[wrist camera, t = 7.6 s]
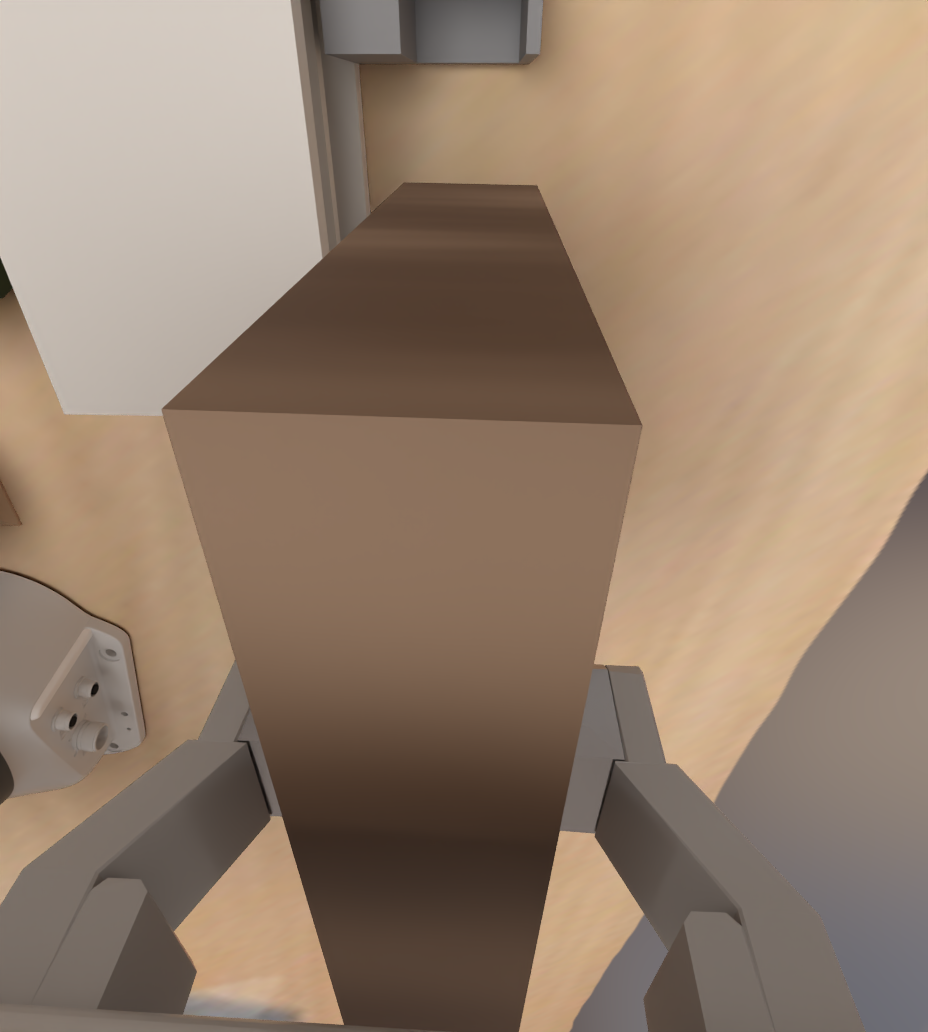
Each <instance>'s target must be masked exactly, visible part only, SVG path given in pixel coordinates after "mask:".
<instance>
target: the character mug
mask: <svg viewBox="0 0 928 1032" xmlns="http://www.w3.org/2000/svg"><path fill="white" fill-rule="evenodd" d="M12 288H13V287H12V285H11V282H10V280H9V277H8V275H7V272H6V270H5V268H4V265H3V263H2V260H1V258H0V298H3V297H5V296H6V294H7V293H8V292H9V291H10V290H11V289H12Z"/></svg>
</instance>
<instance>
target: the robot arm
mask: <svg viewBox="0 0 928 1032" xmlns="http://www.w3.org/2000/svg"><path fill="white" fill-rule="evenodd" d="M145 734H146V733H145V727H144V721H143V715H142V709H141V703H140V697H139V691H138V686H137V680H136V674H135V668H134V662H133V656H132V651H131V645H130V639H129V637H128V635H127V634H126V633H125V632H124V631H123V630H121V629H120V628H118V627H116V626H114V625H112V624H109V623H107V622H105V621H102V620H100V619H97V618H95V617H92V616H90V615H88V614H87V613H85V612H84V611H82V610H81V609H79V608H78V607H77V606H75V605H74V604H72V603H71V602H70V601H68V600H67V599H65V598H64V597H62V596H61V595H59V594H58V593H56V592H54V591H52V590H51V589H49V588H47V587H45V586H43V585H41V584H39V583H36V582H34V581H32V580H29V579H26V578H24V577H21V576H18V575H14V574H11V573H7V572H3V571H0V804H2V803H3V802H4V801H5V800H6V799H9V798H14V797H19V796H24V795H30V794H35V793H41V792H47V791H53V790H58V789H63V788H66V787H69V786H72V785H74V784H76V783H78V782H79V781H81V780H83V779H84V778H85V777H86V776H87V775H88V774H89V773H90V772H91V771H92V770H93V769H94V767H95V766H96V765H97V763H98V762H99V760H100V759H101V757H102V756H103V755H105V754H114V753H119V752H124V751H127V750H130V749H133V748H135V747H137V746H139V745H140V744H141V743H142V741H143V740H144V738H145ZM270 816H282V814H281V811H280V807H279V804H278V800H277V797H276V794H275V790H274V787H273V784H272V780H271V777H270V774H269V770H268V767H267V763H266V760H265V757H264V753H263V750H262V747H261V743H260V740H259V737H258V733H257V730H256V726H255V723H254V720H253V716H252V713H251V710H250V706H249V703H248V700H247V696H246V693H245V689H244V686H243V683H242V679H241V676H240V673H239V669H238V666H237V663H236V660H235V662H234V664H233V666H232V668H231V670H230V672H229V674H228V677H227V679H226V681H225V683H224V685H223V687H222V689H221V691H220V694H219V696H218V698H217V700H216V702H215V704H214V706H213V709H212V711H211V713H210V715H209V717H208V719H207V721H206V723H205V726H204V728H203V730H202V732H201V734H200V736H199V738H198V740H187V741H185V742H184V743H183V744H182V745H180V746H179V747H178V748H176V749H175V750H174V751H173V752H171V753H170V754H169V755H168V756H166V757H165V758H164V759H162V760H161V761H160V762H159V763H157V764H156V765H155V766H154V767H152V768H151V769H150V770H148V771H147V772H146V773H145V774H143V775H142V776H141V777H140V778H138V779H137V780H136V781H134V782H133V783H132V784H131V785H129V786H128V787H127V788H126V789H124V790H123V791H122V792H120V793H119V794H118V795H117V796H115V797H114V798H113V799H111V800H110V801H109V802H108V803H106V804H105V805H104V806H103V807H101V808H100V809H99V810H97V811H96V812H95V813H94V814H92V815H91V816H90V817H89V818H87V819H86V820H85V821H83V822H82V823H81V824H80V825H78V826H77V827H76V828H75V829H73V830H72V831H71V832H69V833H68V834H67V835H66V836H64V837H63V838H62V839H60V840H59V841H58V842H57V843H55V844H54V845H53V846H52V847H50V848H49V849H48V850H46V851H45V852H44V853H43V854H41V855H40V856H39V857H38V858H36V859H35V860H34V861H32V862H31V863H30V864H29V865H27V866H26V867H25V868H24V869H23V870H22V871H21V873H20V875H19V876H18V878H17V880H16V881H15V883H14V884H13V886H12V888H11V889H10V891H9V893H8V894H7V896H6V897H5V899H4V901H3V902H2V904H1V905H0V1032H445V1031H429V1030H413V1029H398V1028H382V1027H366V1026H351V1025H335V1024H320V1023H304V1022H288V1021H273V1020H257V1019H241V1018H226V1017H210V1016H194V1015H183V1012H184V1009H185V1006H186V1003H187V1000H188V997H189V994H190V991H191V988H192V985H193V982H194V979H195V976H196V973H197V971H196V969H195V966H194V964H193V961H192V959H191V958H190V956H189V955H188V953H187V951H186V950H185V948H184V947H183V945H182V944H181V942H180V940H179V939H178V937H177V936H176V934H175V933H174V931H175V929H176V928H177V927H178V926H179V925H180V924H181V922H182V921H183V920H184V919H185V918H186V917H187V916H188V914H189V913H190V912H191V911H192V910H193V909H194V907H195V906H196V905H197V904H198V903H199V902H200V901H201V899H202V898H203V897H204V896H205V895H206V894H207V893H208V891H209V890H210V889H211V888H212V887H213V886H214V884H215V883H216V882H217V881H218V880H219V879H220V878H221V876H222V875H223V874H224V873H225V872H226V871H227V869H228V868H229V867H230V866H231V865H232V864H233V863H234V861H235V860H236V859H237V858H238V857H239V856H240V855H241V853H242V852H243V851H244V850H245V849H246V848H247V846H248V845H249V844H250V843H251V842H252V841H253V840H254V838H255V837H256V836H257V835H258V834H259V833H260V831H261V830H262V829H263V828H264V827H265V826H266V825H267V823H268V822H269V821H270V820H271V819H270ZM560 831H571V832H583V833H595V838H596V839H597V841H598V842H599V844H600V846H601V847H602V849H603V850H604V852H605V853H606V855H607V856H608V858H609V860H610V861H611V863H612V864H613V866H614V867H615V869H616V870H617V872H618V874H619V875H620V877H621V878H622V880H623V881H624V883H625V884H626V886H627V888H628V889H629V891H630V892H631V894H632V895H633V897H634V898H635V900H636V902H637V903H638V905H639V906H640V908H641V909H642V911H643V912H644V914H645V916H646V917H647V918H648V920H649V922H650V923H651V925H652V926H653V928H654V930H655V931H656V933H657V934H658V936H659V937H660V939H661V940H662V942H663V943H664V945H665V947H666V948H667V950H668V951H669V952H668V953H667V956H666V957H665V959H664V961H663V963H662V965H661V967H660V969H659V970H658V973H657V974H656V976H655V978H654V980H653V982H652V984H651V986H650V988H649V989H648V991H647V993H646V995H645V997H644V1005H645V1012H646V1018H647V1025H648V1032H866V1031H865V1029H864V1026H863V1024H862V1021H861V1019H860V1016H859V1014H858V1011H857V1008H856V1006H855V1003H854V1001H853V998H852V996H851V993H850V991H849V988H848V985H847V983H846V980H845V978H844V976H843V973H842V970H841V968H840V965H839V962H838V960H837V958H836V955H835V952H834V950H833V947H832V945H831V942H830V940H829V937H828V934H827V932H826V929H825V927H824V924H823V922H822V919H821V917H820V915H819V914H818V913H817V912H816V911H815V910H814V909H813V908H812V907H811V906H810V905H809V904H808V902H806V900H805V899H804V898H803V897H802V896H801V895H800V894H799V893H798V892H797V891H796V890H795V889H794V888H793V887H792V886H791V885H790V883H789V882H787V880H786V879H785V878H784V877H783V876H782V875H781V874H780V873H779V872H778V871H777V870H776V869H775V868H774V867H773V866H772V865H771V863H770V862H769V861H767V859H766V858H765V857H764V856H763V855H762V854H761V853H760V852H759V851H758V850H757V849H756V848H755V846H754V845H752V844H751V842H750V841H749V840H748V839H747V838H746V837H745V836H744V835H743V834H742V833H741V832H740V831H739V830H738V829H737V828H736V827H735V825H734V824H733V823H732V822H731V821H730V820H729V819H728V818H727V817H726V816H725V815H724V814H723V813H722V812H721V811H720V810H719V808H718V807H717V806H716V805H715V804H714V803H713V802H712V801H711V800H710V799H709V798H708V797H707V796H706V795H705V794H704V793H703V792H702V790H701V789H700V788H699V787H698V786H697V785H696V784H695V783H694V782H693V781H692V780H691V779H690V778H689V777H688V776H687V775H686V774H685V773H684V771H683V770H682V769H681V768H680V767H679V766H678V765H677V764H668V763H666V761H665V757H664V753H663V749H662V745H661V741H660V737H659V733H658V730H657V726H656V722H655V718H654V714H653V710H652V706H651V702H650V698H649V695H648V691H647V687H646V683H645V679H644V675H643V672H642V671H641V669H640V668H639V667H637V666H614V665H605V666H604V665H601V664H594V665H593V670H592V675H591V679H590V684H589V689H588V694H587V699H586V704H585V709H584V714H583V719H582V724H581V729H580V733H579V738H578V743H577V748H576V753H575V758H574V763H573V768H572V773H571V778H570V782H569V787H568V792H567V797H566V802H565V807H564V812H563V817H562V822H561V827H560Z"/></svg>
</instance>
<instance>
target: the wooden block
mask: <svg viewBox="0 0 928 1032" xmlns="http://www.w3.org/2000/svg"><path fill="white" fill-rule="evenodd" d="M161 410H162V414H163V417H164V420H165V424H166V427H167V430H168V434H169V437H170V441H171V444H172V447H173V451H174V454H175V457H176V461H177V464H178V467H179V471H180V474H181V478H182V481H183V484H184V488H185V491H186V494H187V498H188V501H189V504H190V508H191V511H192V515H193V518H194V521H195V525H196V528H197V531H198V535H199V538H200V541H201V545H202V548H203V552H204V555H205V558H206V562H207V565H208V568H209V572H210V575H211V578H212V582H213V585H214V589H215V592H216V595H217V599H218V602H219V605H220V609H221V612H222V615H223V619H224V622H225V626H226V629H227V632H228V636H229V639H230V642H231V646H232V649H233V652H234V656H235V659H236V663H237V666H238V669H239V673H240V676H241V679H242V683H243V686H244V689H245V693H246V696H247V700H248V703H249V706H250V710H251V713H252V716H253V720H254V723H255V726H256V730H257V733H258V737H259V740H260V743H261V747H262V750H263V753H264V757H265V760H266V763H267V767H268V770H269V774H270V777H271V780H272V784H273V787H274V790H275V794H276V797H277V800H278V804H279V807H280V811H281V814H282V817H283V821H284V824H285V827H286V831H287V834H288V837H289V841H290V844H291V848H292V851H293V854H294V858H295V861H296V864H297V868H298V871H299V874H300V878H301V881H302V885H303V888H304V891H305V895H306V898H307V901H308V905H309V908H310V911H311V915H312V918H313V922H314V925H315V928H316V932H317V935H318V938H319V942H320V945H321V948H322V952H323V955H324V958H325V962H326V965H327V969H328V972H329V975H330V979H331V982H332V985H333V989H334V992H335V995H336V999H337V1002H338V1006H339V1009H340V1012H341V1016H342V1019H343V1022H344V1025H351V1026H366V1027H382V1028H398V1029H413V1030H429V1031H445V1032H519V1028H520V1023H521V1018H522V1013H523V1008H524V1003H525V998H526V993H527V988H528V984H529V979H530V974H531V969H532V964H533V959H534V954H535V949H536V944H537V939H538V935H539V930H540V925H541V920H542V915H543V910H544V905H545V900H546V895H547V890H548V885H549V881H550V876H551V871H552V866H553V861H554V856H555V851H556V846H557V841H558V836H559V832H560V827H561V822H562V817H563V812H564V807H565V802H566V797H567V792H568V787H569V782H570V778H571V773H572V768H573V763H574V758H575V753H576V748H577V743H578V738H579V733H580V729H581V724H582V719H583V714H584V709H585V704H586V699H587V694H588V689H589V684H590V679H591V675H592V670H593V665H594V660H595V655H596V650H597V645H598V640H599V635H600V630H601V626H602V621H603V616H604V611H605V606H606V601H607V596H608V591H609V586H610V581H611V577H612V572H613V567H614V562H615V557H616V552H617V547H618V542H619V537H620V532H621V527H622V523H623V518H624V513H625V508H626V503H627V498H628V493H629V488H630V483H631V478H632V474H633V469H634V464H635V459H636V454H637V449H638V444H639V439H640V434H641V429H642V424H641V421H640V419H639V417H638V414H637V412H636V410H635V408H634V405H633V403H632V401H631V399H630V396H629V394H628V392H627V389H626V387H625V385H624V383H623V380H622V378H621V376H620V373H619V371H618V369H617V367H616V364H615V362H614V360H613V357H612V355H611V353H610V351H609V348H608V346H607V344H606V342H605V339H604V337H603V335H602V332H601V330H600V328H599V326H598V323H597V321H596V319H595V316H594V314H593V312H592V310H591V307H590V305H589V303H588V300H587V298H586V296H585V294H584V291H583V289H582V287H581V285H580V282H579V280H578V278H577V275H576V273H575V271H574V269H573V266H572V264H571V262H570V259H569V257H568V255H567V253H566V250H565V248H564V246H563V244H562V241H561V239H560V237H559V234H558V232H557V230H556V228H555V225H554V223H553V221H552V218H551V216H550V214H549V212H548V209H547V207H546V205H545V202H544V200H543V198H542V196H541V193H540V191H539V189H538V187H537V186H535V185H490V184H445V183H403V184H402V185H401V186H400V187H399V188H398V189H397V190H396V191H395V192H393V193H392V194H391V195H390V196H389V197H388V198H387V199H386V200H385V201H384V202H383V203H382V204H381V205H380V206H378V207H377V208H376V209H375V210H374V211H373V212H372V213H371V214H370V215H369V216H368V217H367V218H366V219H365V220H363V221H362V222H361V223H360V224H359V225H358V226H357V227H356V228H355V229H354V230H353V231H352V232H351V233H350V234H348V235H347V236H346V237H345V238H344V239H343V240H342V241H341V242H340V243H339V244H338V245H337V246H336V247H335V248H333V249H332V250H331V251H330V252H329V253H328V254H327V255H326V256H325V257H324V258H323V259H322V260H321V261H320V262H318V263H317V264H316V265H315V266H314V267H313V268H312V269H311V270H310V271H309V272H308V273H307V274H306V275H305V276H303V277H302V278H301V279H300V280H299V281H298V282H297V283H296V284H295V285H294V286H293V287H292V288H291V289H290V290H288V291H287V292H286V293H285V294H284V295H283V296H282V297H281V298H280V299H279V300H278V301H277V302H276V303H275V304H273V305H272V306H271V307H270V308H269V309H268V310H267V311H266V312H265V313H264V314H263V315H262V316H261V317H260V318H258V319H257V320H256V321H255V322H254V323H253V324H252V325H251V326H250V327H249V328H248V329H247V330H246V331H245V332H243V333H242V334H241V335H240V336H239V337H238V338H237V339H236V340H235V341H234V342H233V343H232V344H231V345H229V346H228V347H227V348H226V349H225V350H224V351H223V352H222V353H221V354H220V355H219V356H218V357H217V358H216V359H214V360H213V361H212V362H211V363H210V364H209V365H208V366H207V367H206V368H205V369H204V370H203V371H202V372H201V373H199V374H198V375H197V376H196V377H195V378H194V379H193V380H192V381H191V382H190V383H189V384H188V385H187V386H186V387H184V388H183V389H182V390H181V391H180V392H179V393H178V394H177V395H176V396H175V397H174V398H173V399H172V400H171V401H169V402H168V403H167V404H166V405H165V406H164V407H163V408H162V409H161Z"/></svg>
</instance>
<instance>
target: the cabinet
mask: <svg viewBox="0 0 928 1032" xmlns="http://www.w3.org/2000/svg"><path fill="white" fill-rule="evenodd" d="M542 11H543V0H0V258H1V260H2V263H3V265H4V268H5V270H6V272H7V275H8V277H9V280H10V282H11V285H12V287H13V290H14V292H15V294H16V297H17V299H18V302H19V304H20V307H21V309H22V312H23V314H24V317H25V319H26V321H27V324H28V326H29V329H30V331H31V334H32V336H33V339H34V341H35V344H36V346H37V348H38V351H39V353H40V356H41V358H42V361H43V363H44V366H45V368H46V370H47V373H48V375H49V378H50V380H51V383H52V385H53V388H54V390H55V393H56V395H57V397H58V400H59V402H60V405H61V407H62V410H63V412H64V414H76V415H141V416H163V414H162V410H161V409H162V408H163V407H164V406H165V405H166V404H167V403H168V402H169V401H171V400H172V399H173V398H174V397H175V396H176V395H177V394H178V393H179V392H180V391H181V390H182V389H183V388H184V387H186V386H187V385H188V384H189V383H190V382H191V381H192V380H193V379H194V378H195V377H196V376H197V375H198V374H199V373H201V372H202V371H203V370H204V369H205V368H206V367H207V366H208V365H209V364H210V363H211V362H212V361H213V360H214V359H216V358H217V357H218V356H219V355H220V354H221V353H222V352H223V351H224V350H225V349H226V348H227V347H228V346H229V345H231V344H232V343H233V342H234V341H235V340H236V339H237V338H238V337H239V336H240V335H241V334H242V333H243V332H245V331H246V330H247V329H248V328H249V327H250V326H251V325H252V324H253V323H254V322H255V321H256V320H257V319H258V318H260V317H261V316H262V315H263V314H264V313H265V312H266V311H267V310H268V309H269V308H270V307H271V306H272V305H273V304H275V303H276V302H277V301H278V300H279V299H280V298H281V297H282V296H283V295H284V294H285V293H286V292H287V291H288V290H290V289H291V288H292V287H293V286H294V285H295V284H296V283H297V282H298V281H299V280H300V279H301V278H302V277H303V276H305V275H306V274H307V273H308V272H309V271H310V270H311V269H312V268H313V267H314V266H315V265H316V264H317V263H318V262H320V261H321V260H322V259H323V258H324V257H325V256H326V255H327V254H328V253H329V252H330V251H331V250H332V249H333V248H335V247H336V246H337V245H338V244H339V243H340V242H341V241H342V240H343V239H344V238H345V237H346V236H347V235H348V234H350V233H351V232H352V231H353V230H354V229H355V228H356V227H357V226H358V225H359V224H360V223H361V222H362V221H363V220H365V219H366V218H367V217H368V216H369V215H370V214H371V212H370V199H369V186H368V173H367V161H366V148H365V135H364V122H363V109H362V96H361V84H360V71H359V64H529V63H531V62H532V61H533V60H534V59H535V58H536V57H537V56H538V55H539V54H540V45H541V28H542Z"/></svg>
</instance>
